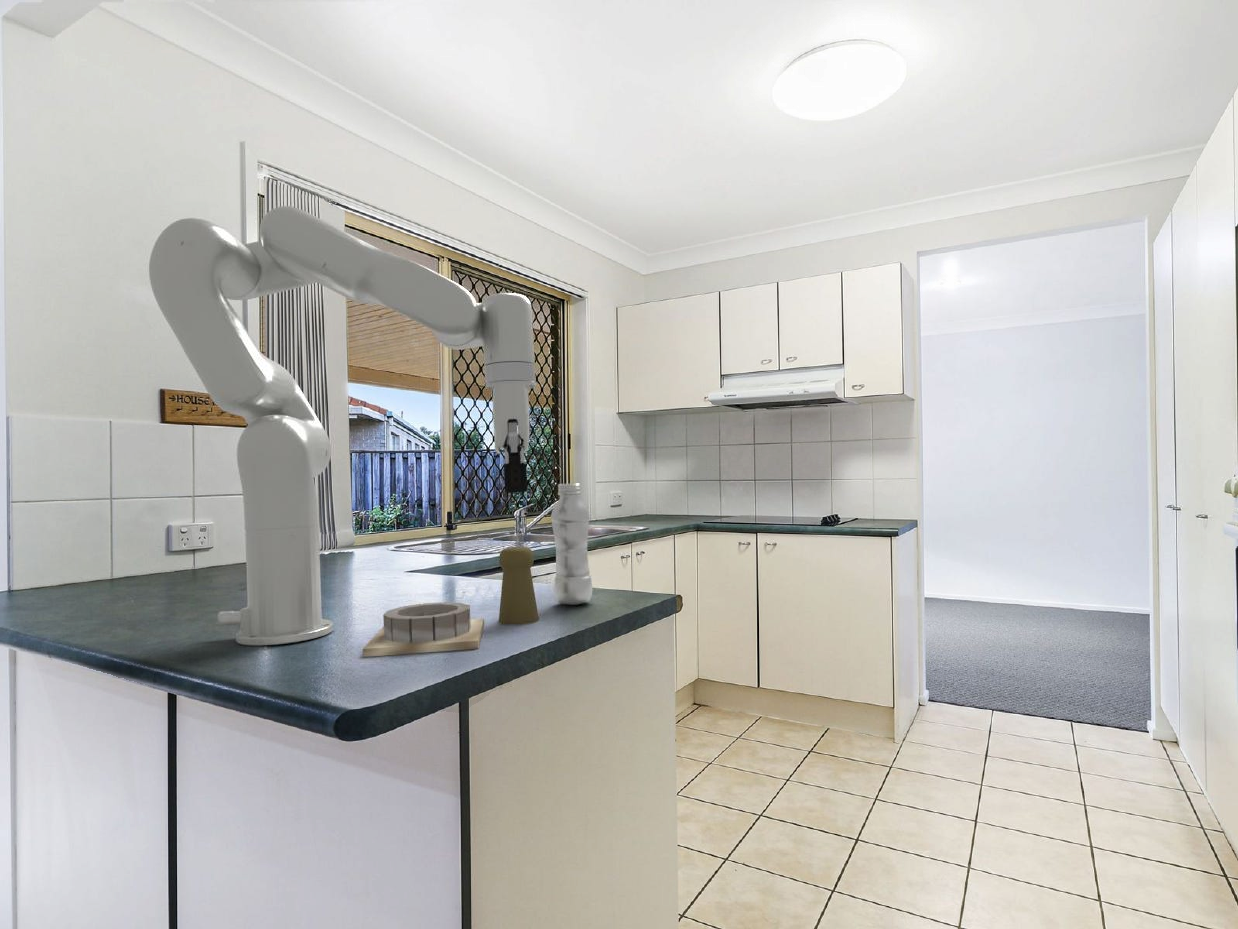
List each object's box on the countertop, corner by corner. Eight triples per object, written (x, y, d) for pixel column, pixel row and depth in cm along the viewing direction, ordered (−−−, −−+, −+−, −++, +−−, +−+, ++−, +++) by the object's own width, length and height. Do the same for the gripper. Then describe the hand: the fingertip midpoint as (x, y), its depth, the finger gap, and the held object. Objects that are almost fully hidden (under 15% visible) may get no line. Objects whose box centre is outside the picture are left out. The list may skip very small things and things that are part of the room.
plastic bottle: (598, 600, 118) (593, 482, 118) (585, 608, 111) (580, 483, 112) (562, 600, 120) (558, 484, 120) (548, 608, 113) (543, 485, 113)
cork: (536, 624, 101) (533, 548, 101) (494, 625, 101) (491, 549, 102) (541, 615, 107) (538, 544, 108) (502, 617, 107) (499, 545, 108)
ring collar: (362, 657, 86) (361, 624, 86) (384, 632, 100) (383, 604, 100) (478, 648, 88) (477, 616, 88) (484, 625, 102) (483, 598, 102)
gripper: (487, 386, 113) (493, 492, 113) (481, 370, 96) (488, 494, 96) (534, 384, 114) (540, 489, 114) (536, 368, 97) (543, 491, 97)
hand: (516, 491), depth 105 cm, fingers open, 9 cm apart
